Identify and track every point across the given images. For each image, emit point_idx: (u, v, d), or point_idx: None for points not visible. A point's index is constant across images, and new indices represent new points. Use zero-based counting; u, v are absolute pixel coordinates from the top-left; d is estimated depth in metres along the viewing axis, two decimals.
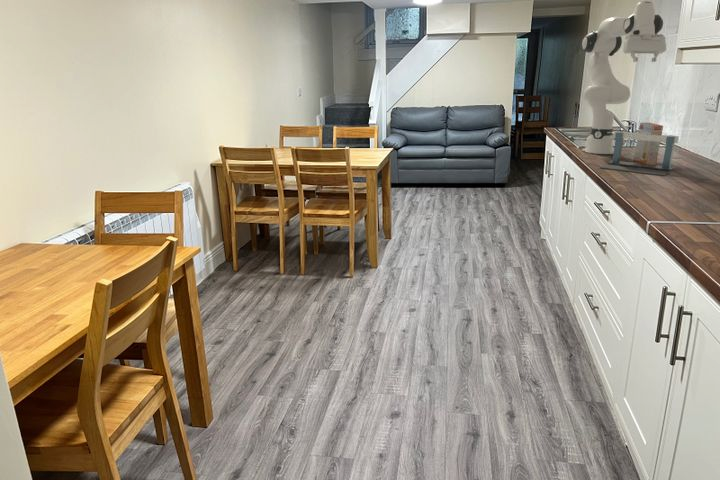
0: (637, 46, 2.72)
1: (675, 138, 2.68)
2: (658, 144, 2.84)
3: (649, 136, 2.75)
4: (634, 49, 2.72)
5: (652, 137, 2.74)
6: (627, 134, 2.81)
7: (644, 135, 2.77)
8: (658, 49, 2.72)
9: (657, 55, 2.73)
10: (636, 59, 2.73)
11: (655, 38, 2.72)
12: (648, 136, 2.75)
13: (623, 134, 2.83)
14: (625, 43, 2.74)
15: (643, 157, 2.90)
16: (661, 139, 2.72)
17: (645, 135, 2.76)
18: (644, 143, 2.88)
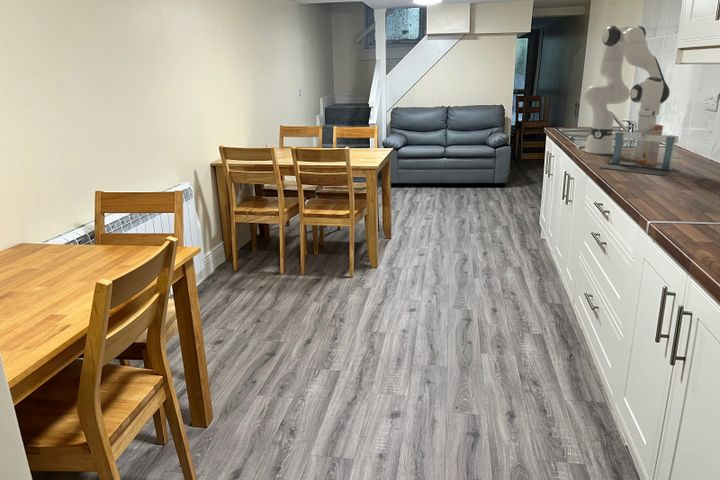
0: (648, 126, 2.72)
1: (675, 138, 2.68)
2: (658, 144, 2.84)
3: (649, 136, 2.75)
4: (647, 129, 2.71)
5: (652, 137, 2.74)
6: (627, 134, 2.82)
7: None
8: (653, 126, 2.80)
9: (649, 132, 2.79)
10: (645, 137, 2.76)
11: None
12: (648, 136, 2.76)
13: (623, 134, 2.83)
14: (642, 122, 2.68)
15: (643, 157, 2.90)
16: (661, 139, 2.72)
17: None
18: (644, 143, 2.88)
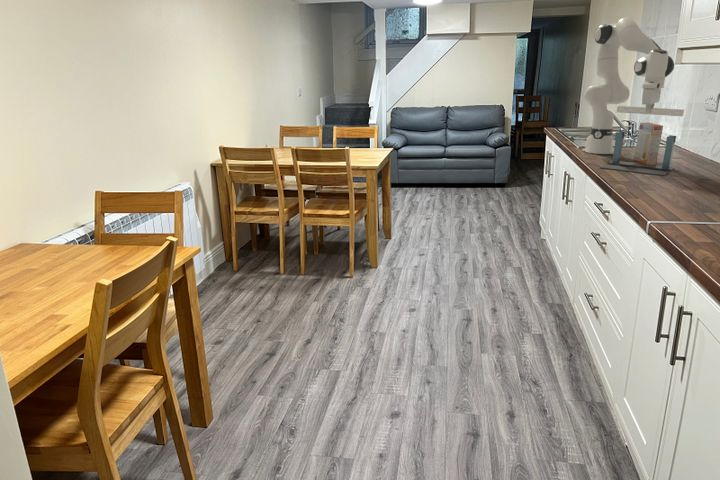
0: (653, 99, 2.67)
1: (680, 111, 2.64)
2: (658, 144, 2.84)
3: (654, 110, 2.71)
4: (651, 102, 2.67)
5: (657, 110, 2.70)
6: (631, 108, 2.77)
7: None
8: (657, 100, 2.76)
9: (653, 106, 2.75)
10: None
11: None
12: (653, 110, 2.71)
13: (627, 108, 2.79)
14: (647, 95, 2.64)
15: (643, 157, 2.90)
16: (666, 113, 2.68)
17: None
18: (644, 143, 2.88)
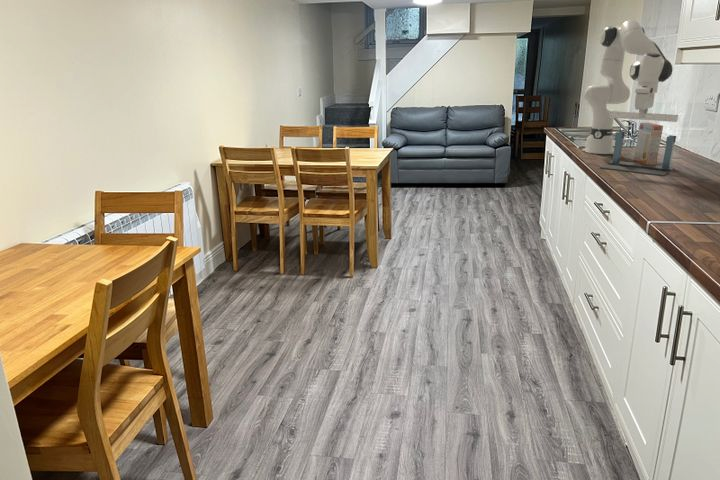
0: (646, 104, 2.59)
1: (674, 116, 2.56)
2: (658, 144, 2.84)
3: (647, 115, 2.63)
4: (644, 107, 2.59)
5: (650, 116, 2.62)
6: (624, 113, 2.69)
7: None
8: (651, 105, 2.67)
9: None
10: (643, 116, 2.64)
11: None
12: (646, 115, 2.63)
13: (620, 114, 2.70)
14: (640, 100, 2.56)
15: (643, 157, 2.90)
16: (660, 118, 2.60)
17: None
18: (644, 143, 2.88)
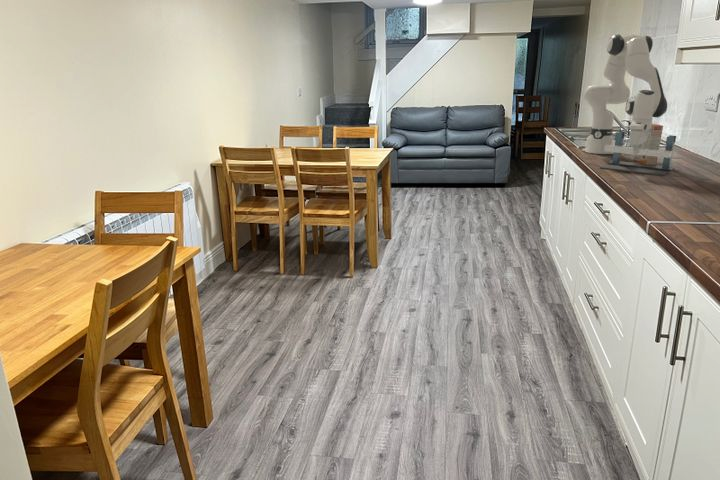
0: (640, 140, 2.65)
1: (668, 153, 2.61)
2: (658, 144, 2.84)
3: (641, 150, 2.68)
4: (639, 143, 2.64)
5: (644, 151, 2.67)
6: (619, 148, 2.74)
7: None
8: (645, 140, 2.73)
9: (641, 146, 2.72)
10: (637, 152, 2.69)
11: None
12: (640, 150, 2.68)
13: (615, 148, 2.76)
14: (634, 136, 2.61)
15: (643, 157, 2.90)
16: (654, 154, 2.65)
17: None
18: (644, 143, 2.88)
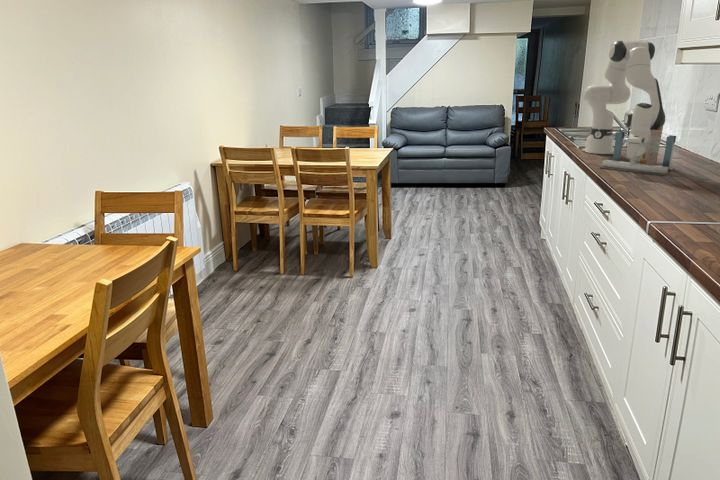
0: (638, 153, 2.67)
1: (664, 169, 2.64)
2: (658, 144, 2.84)
3: (638, 166, 2.71)
4: (636, 156, 2.66)
5: (642, 167, 2.70)
6: (616, 163, 2.77)
7: None
8: (643, 153, 2.75)
9: None
10: None
11: None
12: (637, 166, 2.71)
13: (612, 163, 2.78)
14: (632, 149, 2.63)
15: (643, 157, 2.90)
16: (651, 170, 2.68)
17: (634, 165, 2.72)
18: None
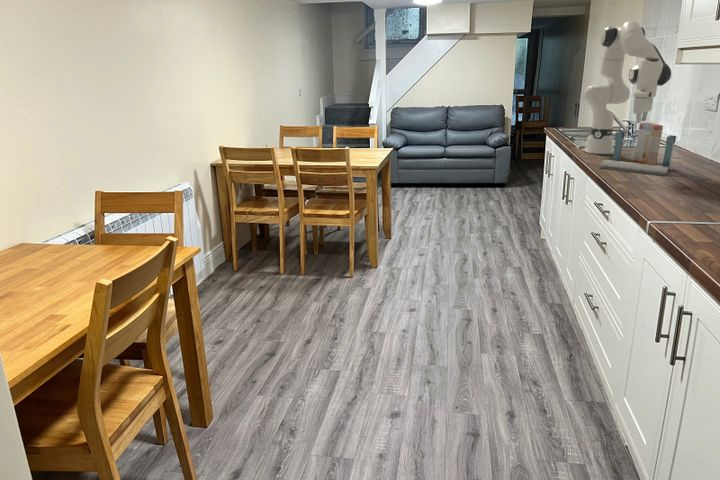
0: (644, 108, 2.60)
1: (664, 169, 2.64)
2: (658, 144, 2.84)
3: (638, 166, 2.71)
4: (643, 111, 2.60)
5: (642, 167, 2.70)
6: (616, 163, 2.77)
7: (633, 165, 2.72)
8: (649, 109, 2.68)
9: None
10: (640, 121, 2.63)
11: None
12: (637, 166, 2.71)
13: (612, 163, 2.78)
14: (638, 104, 2.57)
15: (643, 157, 2.90)
16: (651, 170, 2.68)
17: (634, 165, 2.72)
18: (644, 143, 2.88)
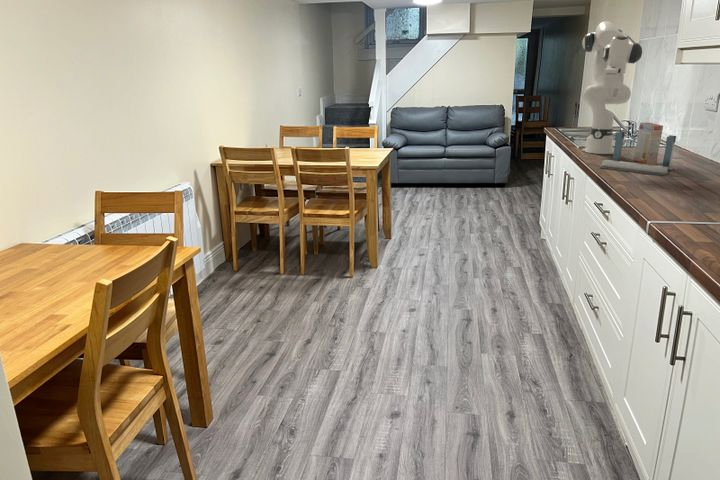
0: (615, 84, 2.78)
1: (664, 169, 2.64)
2: (658, 144, 2.84)
3: (638, 166, 2.71)
4: (613, 87, 2.77)
5: (642, 167, 2.70)
6: (616, 163, 2.77)
7: (633, 165, 2.72)
8: (620, 86, 2.86)
9: (618, 91, 2.87)
10: (611, 96, 2.80)
11: None
12: (637, 166, 2.71)
13: (612, 163, 2.78)
14: (609, 79, 2.74)
15: (643, 157, 2.90)
16: (651, 170, 2.68)
17: (634, 165, 2.72)
18: (644, 143, 2.88)
